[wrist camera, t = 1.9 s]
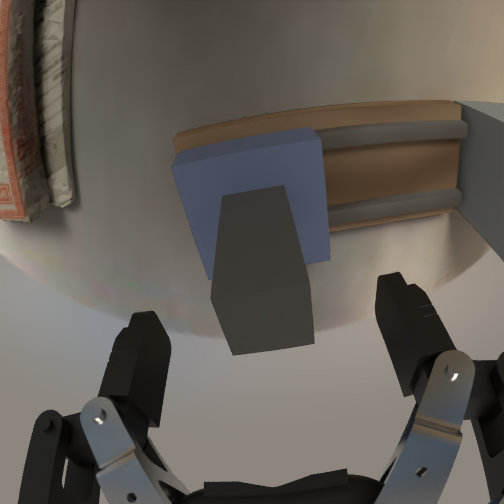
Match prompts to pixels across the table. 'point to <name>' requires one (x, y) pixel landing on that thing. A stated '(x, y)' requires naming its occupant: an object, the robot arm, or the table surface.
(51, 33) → the packaged product
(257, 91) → the table surface
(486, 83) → the table surface
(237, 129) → the rail bed
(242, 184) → the carriage
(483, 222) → the end cabinet
